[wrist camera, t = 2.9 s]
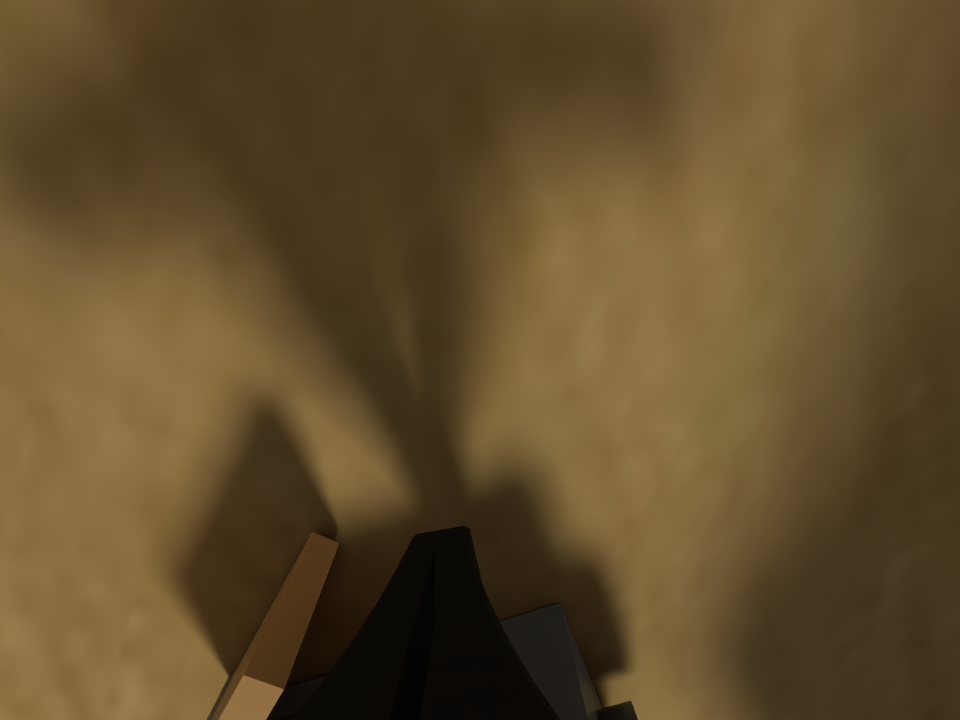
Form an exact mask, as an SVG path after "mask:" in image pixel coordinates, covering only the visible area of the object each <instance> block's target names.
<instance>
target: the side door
mask: <svg viewBox="0 0 960 720" xmlns="http://www.w3.org/2000/svg"><path fill="white" fill-rule="evenodd" d="M338 546H339V543H337V542H335V541H333V540H330V539H328V538H326V537H323V536H321V535H319V534H316V533H314V532H312V533H311V534H310V536H309V538H308V540H307V542H306V544H305V545H304V547H303V549H302V551H301V553H300V554H299V556H298V558H297V560H296V562H295V564H294V565H293V567H292V569H291V571H290V573H289V575H288V576H287V578H286V580H285V582H284V584H283V585H282V587H281V589H280V591H279V593H278V595H277V596H276V598H275V600H274V602H273V604H272V606H271V607H270V609H269V611H268V613H267V615H266V617H265V618H264V620H263V622H262V624H261V626H260V627H259V629H258V631H257V633H256V635H255V637H254V638H253V640H252V642H251V644H250V646H249V648H248V649H247V651H246V653H245V655H244V657H243V659H242V660H241V662H240V664H239V666H238V668H237V669H236V671H235V672H233V673H231V674H230V675H229V677H228V679H227V681H226V683H225V685H224V687H223V689H222V691H221V693H220V695H219V697H218V699H217V701H216V703H215V705H214V706H213V708H212V710H211V712H210V714H209V716H208V718H207V720H266V719H267V717H268V715H269V714H270V712H271V710H272V709H273V707H274V705H275V704H276V702H277V700H278V699H279V697H280V695H281V694H282V692H283V690H284V688H285V686H286V683H287V680H288V678H289V675H290V672H291V670H292V667H293V664H294V662H295V659H296V656H297V654H298V651H299V649H300V646H301V643H302V641H303V638H304V635H305V633H306V630H307V627H308V625H309V622H310V619H311V617H312V614H313V612H314V609H315V606H316V604H317V601H318V598H319V596H320V593H321V590H322V588H323V585H324V583H325V580H326V577H327V575H328V572H329V569H330V567H331V564H332V561H333V559H334V556H335V553H336V551H337V548H338Z"/></svg>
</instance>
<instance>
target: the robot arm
mask: <svg viewBox="0 0 960 720" xmlns="http://www.w3.org/2000/svg"><path fill="white" fill-rule="evenodd" d="M291 720H561V719H560V718H559V716H558V715H557V714H556V712H555V711H554V709H553V708H552V706H551V705H550V704H549V702H548V701H547V699H546V698H545V696H544V695H543V693H542V692H541V690H540V689H539V688H538V686H537V685H536V683H535V682H534V680H533V679H532V677H531V676H530V674H529V673H528V671H527V669H526V668H525V666H524V664H523V663H522V661H521V660H520V658H519V656H518V655H517V653H516V651H515V649H514V648H513V646H512V644H511V642H510V641H509V639H508V637H507V635H506V633H505V631H504V630H503V628H502V626H501V624H500V622H499V620H498V618H497V616H496V614H495V612H494V609H493V607H492V605H491V603H490V601H489V599H488V596H487V594H486V592H485V589H484V587H483V584H482V581H481V576H480V572H479V568H478V563H477V559H476V554H475V550H474V546H473V541H472V537H471V532H470V529H469V528H467V527H466V526H460V527H455V528H449V529H443V530H437V531H431V532H426V533H420V534H416V535H415V536H414V537H413V538H412V540H411V542H410V544H409V546H408V548H407V550H406V552H405V554H404V556H403V558H402V560H401V561H400V563H399V565H398V567H397V569H396V571H395V572H394V574H393V576H392V578H391V580H390V581H389V583H388V585H387V587H386V588H385V590H384V592H383V593H382V595H381V597H380V598H379V600H378V602H377V604H376V605H375V607H374V609H373V610H372V612H371V613H370V615H369V616H368V618H367V619H366V621H365V622H364V624H363V625H362V627H361V629H360V630H359V632H358V633H357V635H356V636H355V638H354V639H353V641H352V642H351V644H350V645H349V646H348V648H347V649H346V651H345V652H344V654H343V655H342V656H341V658H340V659H339V660H338V662H337V663H336V665H335V666H334V667H333V668H332V670H331V671H330V672H329V674H328V675H327V676H326V678H325V679H324V680H323V681H322V683H321V684H320V685H319V687H318V688H317V689H316V690H315V691H314V693H313V694H312V695H311V696H310V697H309V699H308V700H307V701H306V702H305V703H304V705H303V706H302V707H301V708H300V709H299V710H298V712H297V713H296V714H295V715H294V716H293V717H292V718H291Z"/></svg>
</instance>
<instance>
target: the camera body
mask: <svg viewBox="0 0 960 720" xmlns="http://www.w3.org/2000/svg"><path fill="white" fill-rule="evenodd" d="M500 624H501V626H502V628H503V630H504V631H505V633H506V635H507V637H508V639H509V641H510V642H511V644H512V646H513V648H514V649H515V651H516V653H517V655H518V656H519V658H520V660H521V661H522V663H523V664H524V666H525V668H526V669H527V671H528V673H529V674H530V676H531V677H532V679H533V680H534V682H535V683H536V685H537V686H538V688H539V689H540V690H541V692H542V693H543V695H544V696H545V698H546V699H547V701H548V702H549V704H550V705H551V706H552V708H553V709H554V711H555V712H556V714H557V715H558V716H559V718H560V719H561V720H638V718H637V715H636V712H635V710H634V707H633V705H632V702H631V701H627V702H624V703H620V704H617V705H613V706H610V707H606V708H602V706H601V703H600V701H599V698H598V696H597V693H596V691H595V688H594V686H593V683H592V681H591V678H590V676H589V673H588V671H587V668H586V666H585V663H584V661H583V658H582V656H581V653H580V651H579V648H578V646H577V643H576V641H575V638H574V636H573V634H572V631H571V629H570V626H569V624H568V621H567V619H566V616H565V614H564V611H563V609H562V606H561V604H560V603H558V604H555V605H551V606H548V607H545V608H542V609H538V610H535V611H532V612H529V613H526V614H522V615H519V616H516V617H513V618H509V619H506V620H503V621H500ZM326 676H327V675H325V676H322V677H319V678H315V679H312V680H309V681H306V682H302V683H299V684H296V685H293V686H289V687H286V688H284V690H283V692H282V694H281V695H280V697H279V699H278V700H277V702H276V704H275V705H274V707H273V709H272V710H271V712H270V714H269V715H268V717H267V719H266V720H291V718H292V717H293V716H294V715H295V714H296V713H297V712H298V710H299V709H300V708H301V707H302V706H303V705H304V703H305V702H306V701H307V700H308V699H309V697H310V696H311V695H312V694H313V693H314V691H315V690H316V689H317V688H318V687H319V685H320V684H321V683H322V681H323V680H324V679H325V678H326Z"/></svg>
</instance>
